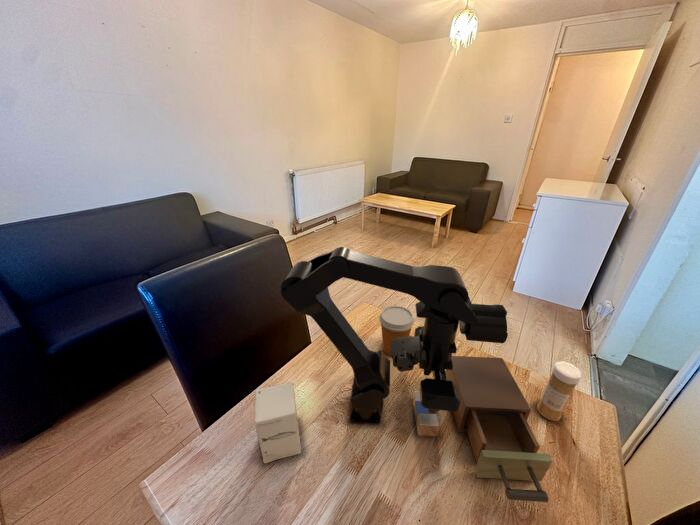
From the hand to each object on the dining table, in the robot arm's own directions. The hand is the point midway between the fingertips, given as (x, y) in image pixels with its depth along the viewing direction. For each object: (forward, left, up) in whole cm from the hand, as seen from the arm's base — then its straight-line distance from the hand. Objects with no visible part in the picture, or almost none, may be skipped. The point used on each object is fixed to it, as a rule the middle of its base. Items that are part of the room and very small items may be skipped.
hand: (428, 392), depth 59 cm
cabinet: (+13, +4, -8) cm, 16 cm away
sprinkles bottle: (+28, +3, -8) cm, 29 cm away
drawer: (+13, -8, -7) cm, 17 cm away
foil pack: (0, 0, -8) cm, 8 cm away
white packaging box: (-30, -7, -8) cm, 32 cm away
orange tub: (-5, +21, -8) cm, 23 cm away
